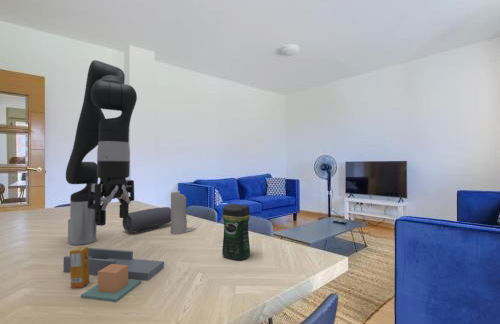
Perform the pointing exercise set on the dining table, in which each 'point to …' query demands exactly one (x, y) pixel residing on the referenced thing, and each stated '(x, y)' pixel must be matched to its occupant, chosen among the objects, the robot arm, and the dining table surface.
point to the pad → (109, 296)
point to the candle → (179, 214)
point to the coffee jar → (236, 231)
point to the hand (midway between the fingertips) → (113, 221)
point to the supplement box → (79, 267)
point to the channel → (109, 256)
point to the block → (112, 278)
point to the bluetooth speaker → (147, 219)
